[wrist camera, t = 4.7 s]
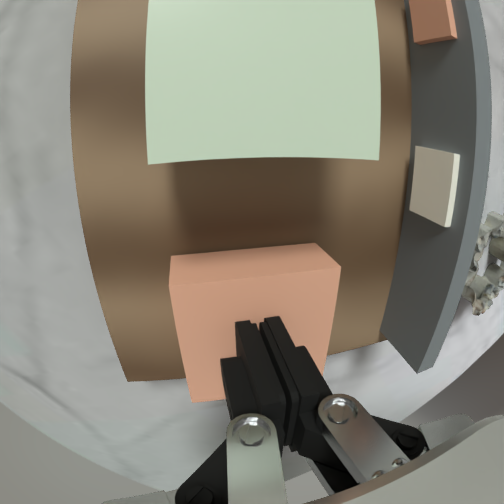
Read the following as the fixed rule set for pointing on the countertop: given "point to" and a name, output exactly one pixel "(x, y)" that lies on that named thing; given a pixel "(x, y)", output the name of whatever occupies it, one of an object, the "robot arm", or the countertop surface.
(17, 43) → the countertop surface
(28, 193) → the countertop surface
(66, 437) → the countertop surface
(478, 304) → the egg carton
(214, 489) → the robot arm
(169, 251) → the keypad
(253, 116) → the key sage
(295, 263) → the key terracotta
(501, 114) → the countertop surface
